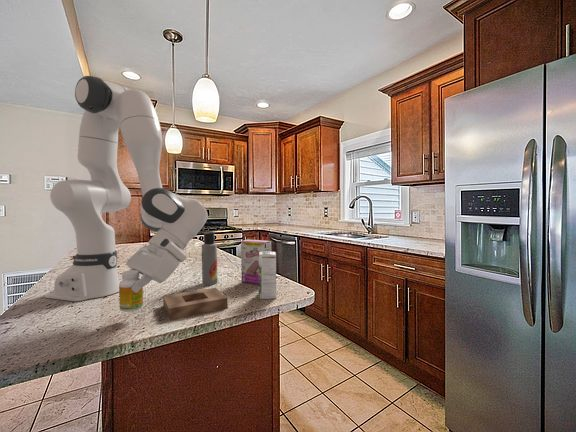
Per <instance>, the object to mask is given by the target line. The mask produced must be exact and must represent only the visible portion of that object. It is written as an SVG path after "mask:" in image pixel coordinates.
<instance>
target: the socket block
mask: <svg viewBox="0 0 576 432" xmlns="http://www.w3.org/2000/svg"><path fill="white" fill-rule="evenodd" d="M162 301H163V302H162V304H163V305H162V306H163V308H164V310H165V313H166V316H167V319H168V320H175V319H179V318H184V317H189V316H194V315H201V314H203V313H209V312H214V311H215V312H216V311H219V310H224V309H228V305H229V304H228V301H229V300H228V297H227V296H226V295H225V294H224V293H222V292H221V291H220V290H219V289H218V288H217V287H212V288H211V287H210V288H206V289H198V290H194V291H193V290H192V291H187V292H186V291H185V292H180V293H175V294H174V293H173V294H168V295H163V296H162Z"/></svg>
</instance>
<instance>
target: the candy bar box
mask: <svg viewBox="0 0 576 432" xmlns="http://www.w3.org/2000/svg"><path fill="white" fill-rule="evenodd" d="M240 244H241V245H240V247H241V248H240V250H241V252H240V253H241V257H240V258H241V260H240V261H241V283H247V284H253V285H254V284H255V285H258V269H259V252H265V251H270V252H272V240H263V239H262V240H259V239H243V240H241V241H240Z"/></svg>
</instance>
